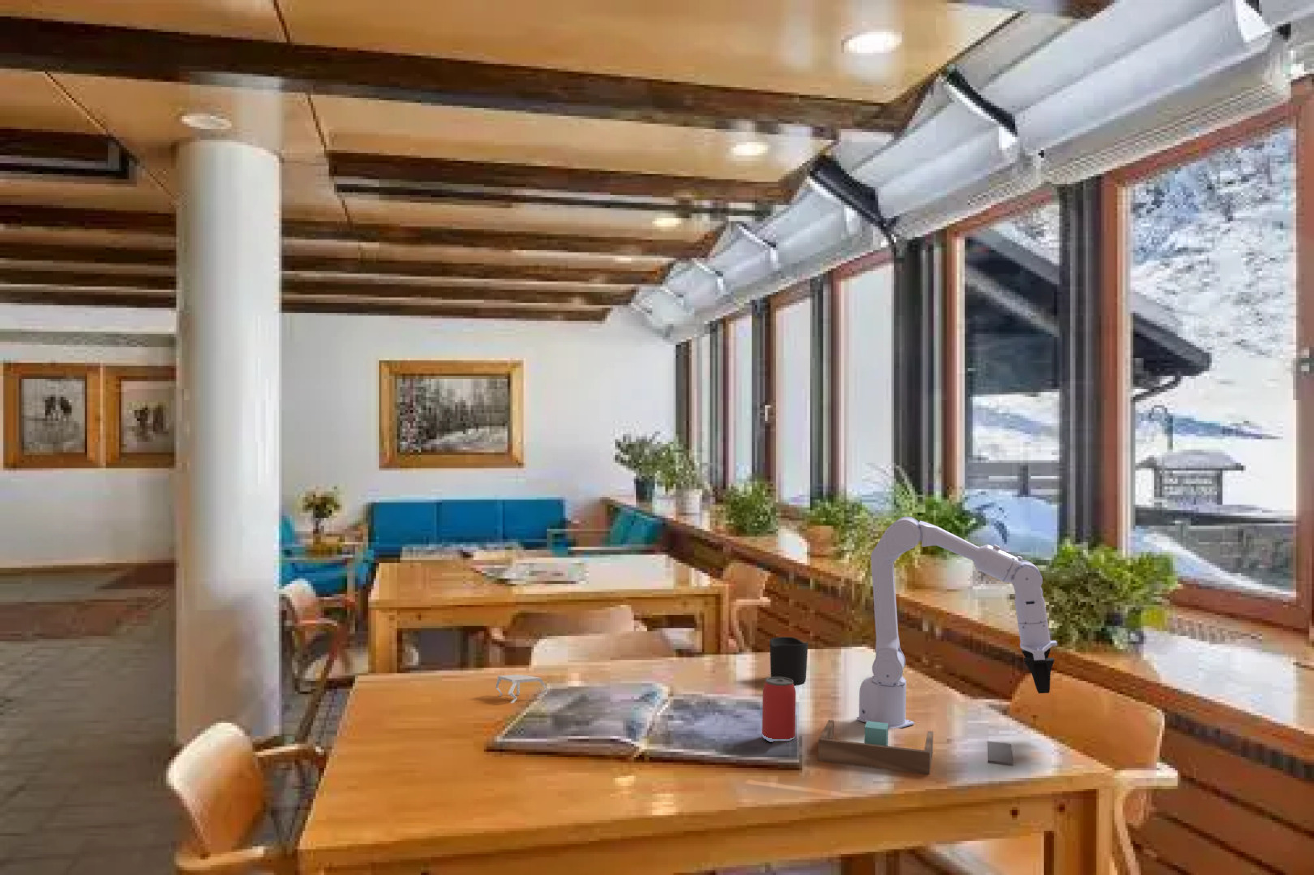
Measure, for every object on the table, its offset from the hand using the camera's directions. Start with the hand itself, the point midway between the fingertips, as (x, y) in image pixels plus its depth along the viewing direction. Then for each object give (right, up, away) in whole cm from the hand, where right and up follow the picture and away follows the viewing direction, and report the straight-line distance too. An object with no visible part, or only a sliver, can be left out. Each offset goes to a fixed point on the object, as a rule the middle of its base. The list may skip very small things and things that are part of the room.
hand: (1042, 688), depth 194 cm
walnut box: (-37, -10, -13) cm, 40 cm away
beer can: (-54, -10, -3) cm, 55 cm away
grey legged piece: (-109, -9, +24) cm, 112 cm away
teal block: (-37, -9, -14) cm, 41 cm away
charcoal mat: (-16, -10, -8) cm, 20 cm away
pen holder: (-46, -10, +43) cm, 64 cm away
